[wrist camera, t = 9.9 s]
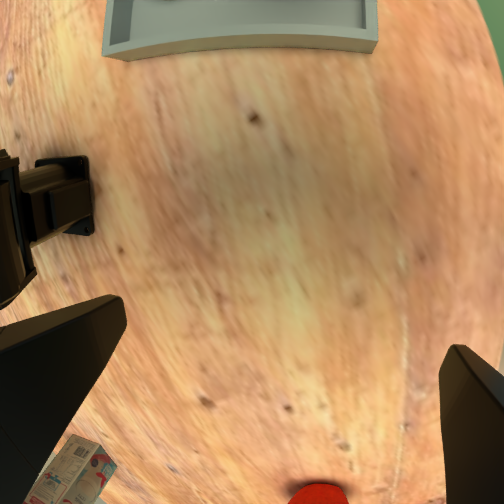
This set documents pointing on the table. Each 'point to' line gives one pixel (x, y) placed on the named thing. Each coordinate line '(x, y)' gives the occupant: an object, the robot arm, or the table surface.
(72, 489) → the juice carton
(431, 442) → the table surface
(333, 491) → the apple
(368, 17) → the grey shallow tray
